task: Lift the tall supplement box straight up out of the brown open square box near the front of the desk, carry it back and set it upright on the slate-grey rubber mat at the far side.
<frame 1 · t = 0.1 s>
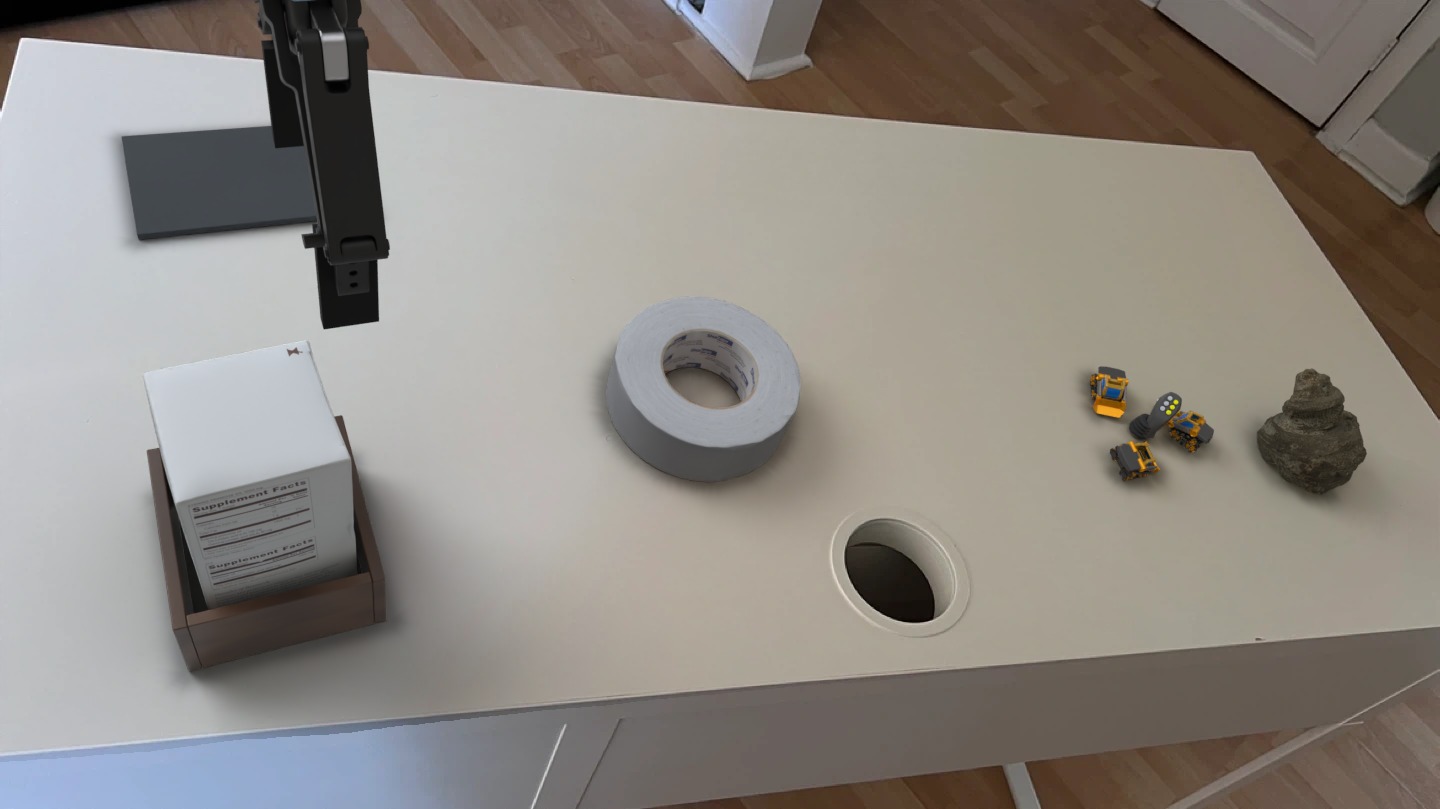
hand: (323, 226, 57), 26 cm above the table, tool pointing down, fingers open, 13 cm apart
toy set: (1130, 439, 98), on the table
seashell: (1302, 474, 101), on the table
mat: (246, 178, 92), on the table
tape roll: (696, 406, 89), on the table
supplement box: (273, 560, 72), resting in brown open square box
brown open square box: (273, 559, 72), on the table
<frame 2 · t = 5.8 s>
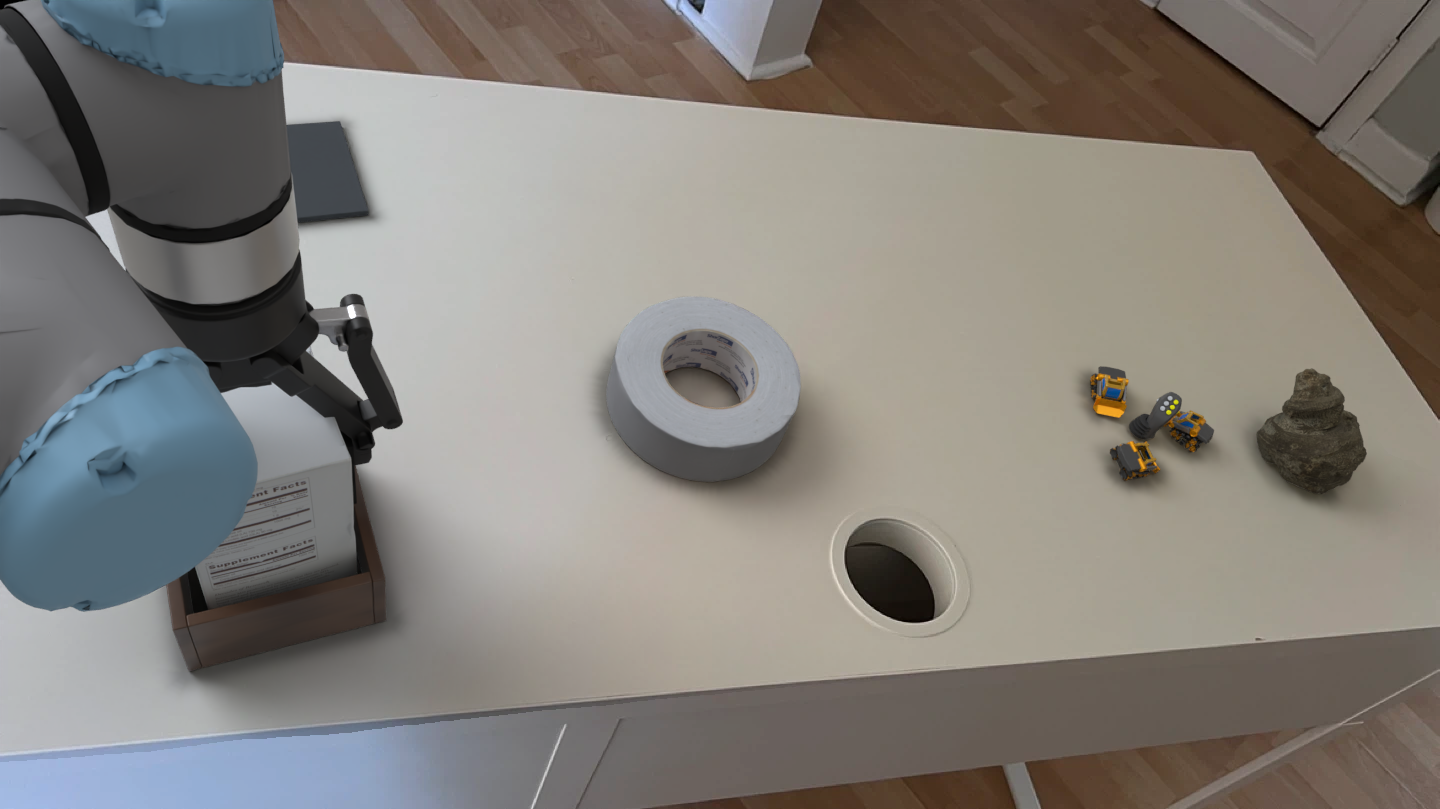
hand: (262, 504, 67), 7 cm above the table, tool pointing down, fingers closed on supplement box, 9 cm apart
supplement box: (273, 560, 72), resting in brown open square box, touching gripper
everything else where it was.
when the fingers open (8 cm above the table, at t = 16.6 s): supplement box stays where it is, resting on mat.
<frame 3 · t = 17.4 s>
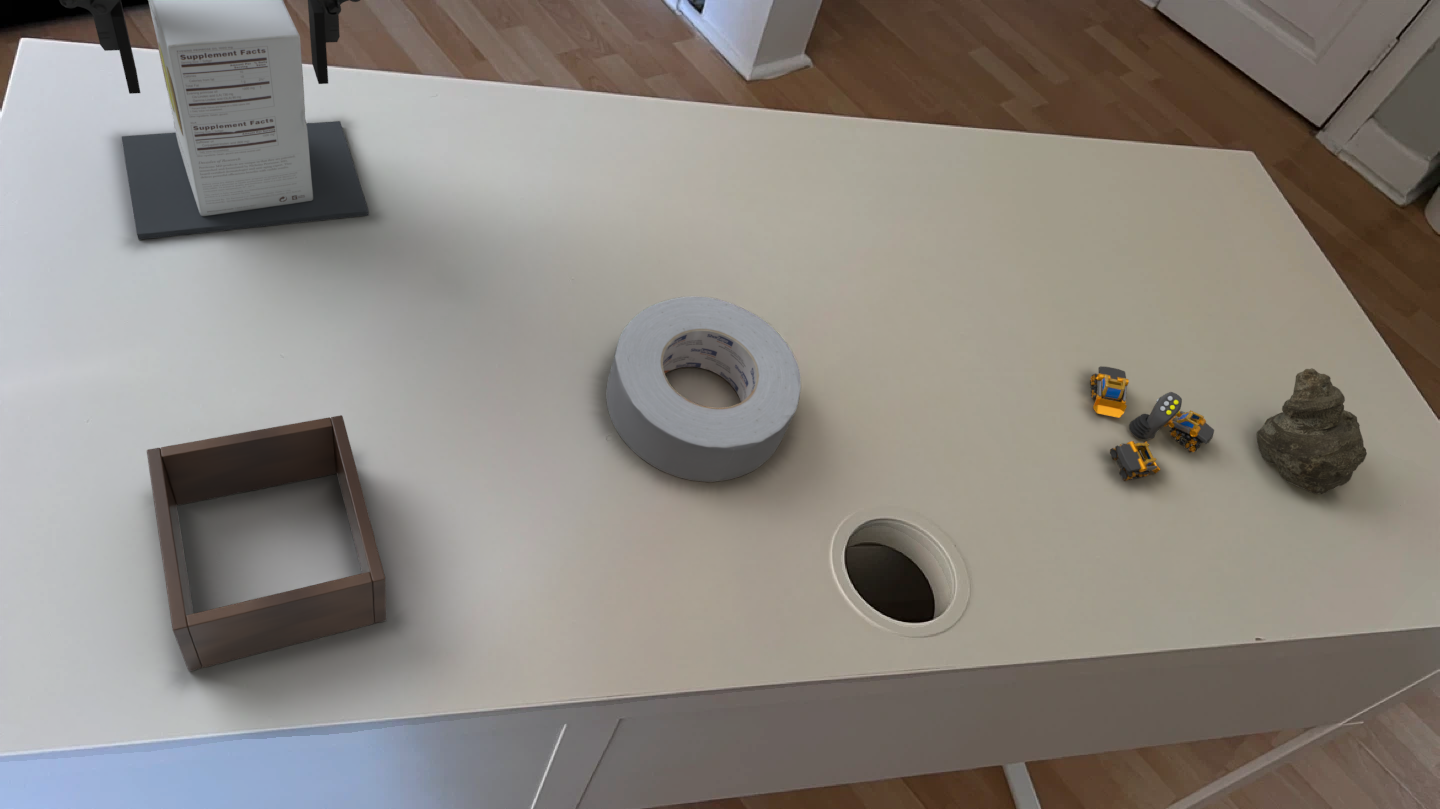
hand: (229, 78, 84), 11 cm above the table, tool pointing down, fingers open, 13 cm apart
supplement box: (246, 175, 92), resting on mat
everything else where it was.
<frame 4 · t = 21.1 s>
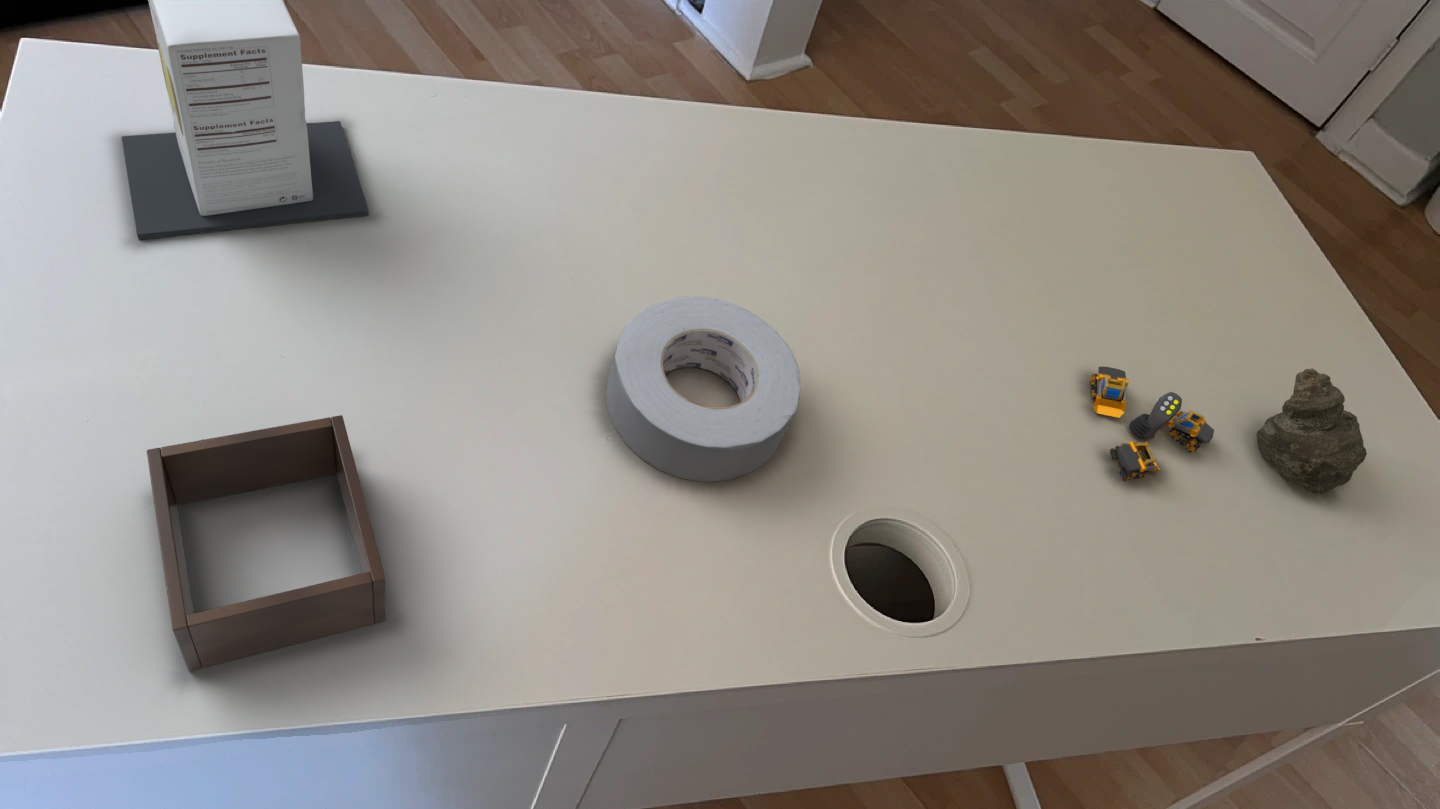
nothing on the table moved.
at the end: supplement box inside the target area on the mat (0.0 cm from its centre), point 0.4 cm above the mat's base; supplement box tilted 0°; supplement box moved 37.7 cm from its start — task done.
